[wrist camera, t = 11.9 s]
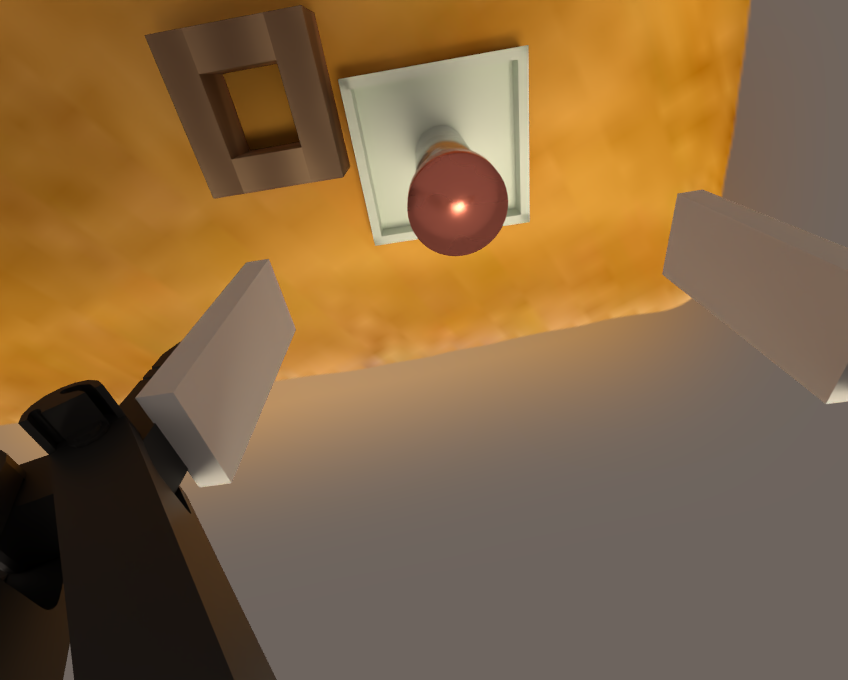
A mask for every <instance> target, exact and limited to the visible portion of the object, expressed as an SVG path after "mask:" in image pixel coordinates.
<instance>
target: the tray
mask: <svg viewBox="0 0 848 680" xmlns="http://www.w3.org/2000/svg"><path fill="white" fill-rule="evenodd" d="M338 82H339V86H340V91H341V95H342V100H343V104H344V109H345V113H346V117H347V122H348V126H349V131H350V135H351V140H352V144H353V149H354V153H355V158H356V162H357V167H358V171H359V176H360V180H361V184H362V189H363V193H364V198H365V202H366V207H367V211H368V216H369V220H370V225H371V229H372V234H373V238H374V243H375V246H376V245H383V244H389V243H396V242H402V241H409V240H415V239H418V238H417V236H416V235H415V233H414V232H413V230H412V228H411V225H410V222H409V218H408V212H407V202H408V191H409V186H410V183H411V180H412V178H413V176H414V174H415V151H416V145H417V142H418V140H419V138H420V136H421V135H422V134H423V133H424V132H425V131H426V130H427V129H429V128H431V127H433V126H436V125H446V126H450V127H452V128H454V129H455V130H456V131H457V132H458V133H459V134H460V135H461V136H462V138H463V139H464V141H465V142H466V143H467V145H468V146H469V148H470V149H471V150H472V151H474V152H476V153H478V154H480V155H482V156H483V157H485V158H486V159H487V160H488V161H489V162H490V163H491V164H492V165H493V166H494V168H495V169H496V170H497V171H498V173H499V174H500V176H501V177H502V179H503V181H504V183H505V186H506V190H507V194H508V210H507V215H506V219H505V221H504V224H503V226H506V225H513V224H519V223H526V222H530V205H529V61H528V45H526V46H520V47H515V48H509V49H504V50H498V51H493V52H487V53H482V54H476V55H470V56H465V57H459V58H454V59H448V60H443V61H437V62H432V63H426V64H420V65H415V66H409V67H404V68H398V69H393V70H387V71H381V72H376V73H370V74H365V75H359V76H354V77H348V78H343V79H338Z"/></svg>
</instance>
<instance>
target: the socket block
mask: <svg viewBox="0 0 848 680" xmlns="http://www.w3.org/2000/svg"><path fill="white" fill-rule="evenodd" d="M145 38H146V40H147V42H148V45H149V47H150V50H151V52H152V54H153V57H154V59H155V61H156V64H157V66H158V68H159V71H160V73H161V76H162V78H163V80H164V83H165V85H166V87H167V90H168V92H169V94H170V97H171V99H172V102H173V104H174V106H175V109H176V111H177V113H178V116H179V118H180V120H181V123H182V125H183V128H184V130H185V132H186V135H187V137H188V139H189V142H190V144H191V146H192V149H193V151H194V154H195V156H196V158H197V161H198V163H199V165H200V168H201V170H202V172H203V175H204V177H205V180H206V182H207V184H208V187H209V189H210V191H211V194H212V196H213V198H221V197H227V196H233V195H239V194H245V193H251V192H257V191H263V190H269V189H275V188H281V187H287V186H293V185H299V184H305V183H312V182H318V181H324V180H330V179H336V178H342V177H344V175H345V174H346V172H347V171H348V169H349V168H350V164H349V160H348V156H347V151H346V147H345V143H344V139H343V134H342V130H341V126H340V121H339V117H338V113H337V109H336V104H335V100H334V96H333V91H332V87H331V83H330V79H329V74H328V70H327V66H326V61H325V57H324V53H323V49H322V44H321V40H320V36H319V32H318V27H317V23H316V19H315V14H314V13H313V12H312V11H310V10H308V9H307V8H305V7H303V6H302V5H299V6H294V7H289V8H284V9H278V10H273V11H268V12H263V13H258V14H252V15H247V16H242V17H237V18H232V19H226V20H221V21H216V22H211V23H206V24H200V25H195V26H190V27H185V28H180V29H174V30H169V31H164V32H159V33H154V34H148V35H145ZM273 64H278V67H279V71H280V74H281V78H282V81H283V85H284V88H285V92H286V95H287V99H288V102H289V106H290V109H291V113H292V116H293V120H294V123H295V126H296V130H297V133H298V137H299V140H300V142H296V143H290V144H284V145H279V146H273V147H267V148H261V149H255V150H249V147H248V144H247V141H246V139H245V136H244V133H243V130H242V127H241V124H240V122H239V119H238V116H237V113H236V110H235V107H234V105H233V102H232V99H231V96H230V93H229V90H228V88H227V85H226V82H225V79H224V76H223V74H224V73H229V72H235V71H240V70H246V69H251V68H256V67H262V66H267V65H273Z"/></svg>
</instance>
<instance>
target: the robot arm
mask: <svg viewBox="0 0 848 680" xmlns="http://www.w3.org/2000/svg"><path fill="white" fill-rule="evenodd" d="M663 275H664V276H665V277H666V278H668V279H669V280H670V281H671V282H673V283H674V284H675V285H676V286H678V287H679V288H680V289H681V290H683V291H684V292H685V293H686V294H688V295H689V296H690V297H692V298H693V299H694V300H695V301H697V302H698V303H699V304H700V305H702V306H703V307H704V308H705V309H707V310H708V311H709V312H710V313H712V314H713V315H714V316H716V317H717V318H718V319H719V320H721V321H722V322H723V323H724V324H726V325H727V326H728V327H730V328H731V329H732V330H733V331H734V332H736V333H737V334H738V335H740V336H741V337H742V338H743V339H744V340H746V341H747V342H749V343H750V344H751V345H752V346H753V347H755V348H756V349H757V350H758V351H760V352H761V353H762V354H764V355H765V356H766V357H767V358H768V359H770V360H771V361H772V362H773V363H775V364H776V365H777V366H779V367H780V368H781V369H782V370H784V371H785V372H786V373H787V374H789V375H790V376H791V377H793V378H794V379H795V380H796V381H798V382H799V383H800V384H801V385H803V386H804V387H805V388H807V389H808V390H809V391H810V392H811V393H813V394H814V395H815V396H816V397H818V398H819V399H820V400H821V401H823V402H824V403H825V404H830V403H837V402H845V401H848V248H846V247H844V246H841V245H839V244H836V243H834V242H831V241H829V240H826V239H824V238H821V237H819V236H816V235H814V234H811V233H809V232H807V231H804V230H801V229H799V228H796V227H794V226H792V225H789V224H786V223H784V222H782V221H779V220H777V219H774V218H772V217H769V216H767V215H764V214H762V213H759V212H757V211H754V210H752V209H749V208H747V207H744V206H742V205H739V204H737V203H734V202H732V201H729V200H727V199H724V198H722V197H720V196H717V195H715V194H712V193H710V192H707V191H705V190H698V191H692V192H685V193H679V194H677V200H676V205H675V210H674V216H673V221H672V226H671V231H670V237H669V242H668V247H667V252H666V258H665V263H664V268H663ZM295 330H296V329H295V326H294V324H293V321H292V318H291V316H290V313H289V311H288V308H287V305H286V303H285V300H284V297H283V295H282V292H281V290H280V287H279V284H278V282H277V279H276V277H275V274H274V271H273V269H272V266H271V263H270V261H269V259H265V260H259V261H253V262H247V263H245V265H244V266H243V267H242V268H241V269H240V271H239V272H238V273H237V274H236V276H235V277H234V278H233V279H232V280H231V282H230V283H229V284H228V285H227V286H226V288H225V289H224V290H223V291H222V293H221V294H220V295H219V296H218V297H217V299H216V300H215V301H214V302H213V304H212V305H211V306H210V307H209V308H208V310H207V311H206V312H205V313H204V315H203V316H202V317H201V318H200V319H199V321H198V322H197V323H196V324H195V326H194V327H193V328H192V329H191V330H190V332H189V333H188V334H187V335H186V336H185V338H184V339H183V340H182V341H181V342H179V343H178V344H176V345H175V346H174V347H172V348H171V349H169V350H168V351H167V352H165V353H164V354H163V355H162V356H161V357H160V358H159V359H158V361H157V362H156V363H155V364H154V365H153V366H152V370H149V371H148V372H147V373H146V375H145V376H144V377H143V380H141V381H140V382H139V383H138V384H137V385H136V386H135V388H134V389H133V390H132V391H131V392H130V394H129V395H128V396H127V397H126V398H125V399H124V401H123V402H122V403H121V404H120V405H118V404H117V403H116V402H115V400H114V399H113V398H112V396H111V395H110V394H109V392H108V391H107V390H106V388H105V387H104V386H103V384H101V383H100V382H99V381H97V380H86V381H81V382H76V383H73V384H70V385H68V386H65V387H62V388H60V389H58V390H56V391H54V392H52V393H50V394H48V395H46V396H44V397H43V398H41V399H40V400H39V401H37V402H36V403H34V404H33V405H31V406H30V407H29V408H28V409H27V410H26V411H25V412H24V413H23V415H22V416H21V418H20V421H19V423H18V424H20V426H21V427H22V428H23V429H24V430H25V431H26V432H27V433H28V434H29V435H30V436H31V437H32V438H33V439H34V440H35V441H36V442H37V443H38V444H39V445H40V446H41V447H42V448H43V449H44V450H45V451H46V452H47V453H48V454H49V455H47V456H44V457H41V458H38V459H35V460H32V461H29V462H27V463H23V464H21V465H18V464H17V463H16V462H15V461H14V460H13V459H12V458H11V457H10V456H9V455H7V454H6V453H5V452H3V451H2V450H0V680H63V677H64V671H65V666H66V661H67V655H68V650H69V644H70V646H71V655H72V664H73V673H74V680H276V678H275V676H274V673H273V672H272V669H271V667H270V665H269V663H268V662H267V659H266V657H265V655H264V653H263V651H262V649H261V647H260V645H259V643H258V641H257V639H256V637H255V634H254V632H253V630H252V628H251V626H250V624H249V622H248V620H247V618H246V616H245V614H244V612H243V610H242V608H241V606H240V604H239V602H238V600H237V598H236V595H235V593H234V592H233V589H232V587H231V585H230V583H229V581H228V579H227V577H226V575H225V573H224V571H223V569H222V567H221V565H220V563H219V561H218V559H217V556H216V555H215V552H214V551H213V548H212V546H211V544H210V542H209V540H208V538H207V536H206V534H205V532H204V530H203V528H202V526H201V524H200V522H199V520H198V518H197V516H196V514H195V511H194V509H193V507H192V506H191V503H190V501H189V499H188V497H187V495H186V494H185V492H184V491H183V490H182V488H181V487H180V486H179V485H180V483H181V481H182V479H183V478H184V476H185V474H186V472H187V471H188V472H189V473H190V475H191V476H192V478H193V479H194V481H195V482H196V483H197V485H198V486H199V487H206V486H213V485H220V484H228V483H232V481H233V478H234V476H235V474H236V471H237V469H238V467H239V464H240V462H241V459H242V457H243V455H244V452H245V450H246V447H247V445H248V443H249V440H250V438H251V435H252V433H253V431H254V428H255V426H256V423H257V421H258V419H259V416H260V414H261V411H262V409H263V406H264V404H265V402H266V400H267V397H268V395H269V392H270V390H271V388H272V385H273V383H274V380H275V378H276V376H277V373H278V371H279V368H280V366H281V364H282V361H283V359H284V356H285V354H286V352H287V349H288V347H289V344H290V342H291V340H292V337H293V335H294V333H295Z"/></svg>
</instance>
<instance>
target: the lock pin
mask: <svg viewBox="0 0 848 680" xmlns="http://www.w3.org/2000/svg"><path fill="white" fill-rule="evenodd" d="M507 210H508V194H507V190H506V186H505V183H504V181H503V179H502V177H501V176H500V174H499V173H498V171H497V170H496V169H495V168H494V166H493V165H492V164H491V163H490V162H489V161H488V160H487V159H486V158H485V157H483V156H482V155H480V154H478V153H476V152H474V151H472V150H471V149H470V148H469V146H468V145H467V143H466V142H465V141H464V139H463V138H462V136H461V135H460V134H459V133H458V132H457V131H456V130H455V129H454V128H452V127H450V126H446V125H436V126H433V127H431V128H429V129H427V130H426V131H425V132H424V133H423V134H422V135H421V136H420V138H419V140H418V142H417V145H416V151H415V174H414V176H413V178H412V180H411V183H410V186H409V191H408V202H407V212H408V218H409V222H410V225H411V228H412V230H413V232H414V233H415V235H416V236H417V238H418V239H419V240H420V241H421V242H422V243H423V244H424V245H425V246H426V247H428V248H429V249H431V250H433V251H435V252H437V253H440V254H443V255H448V256H462V255H467V254H471V253H474V252H476V251H478V250H480V249H482V248H483V247H485V246H486V245H487V244H489V243H490V242H491V241H492V240H493V239H494V238H495V237H496V235H497V234H498V233H499V231H500V230H501V228H502V226H503V224H504V221H505V219H506V215H507Z"/></svg>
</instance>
